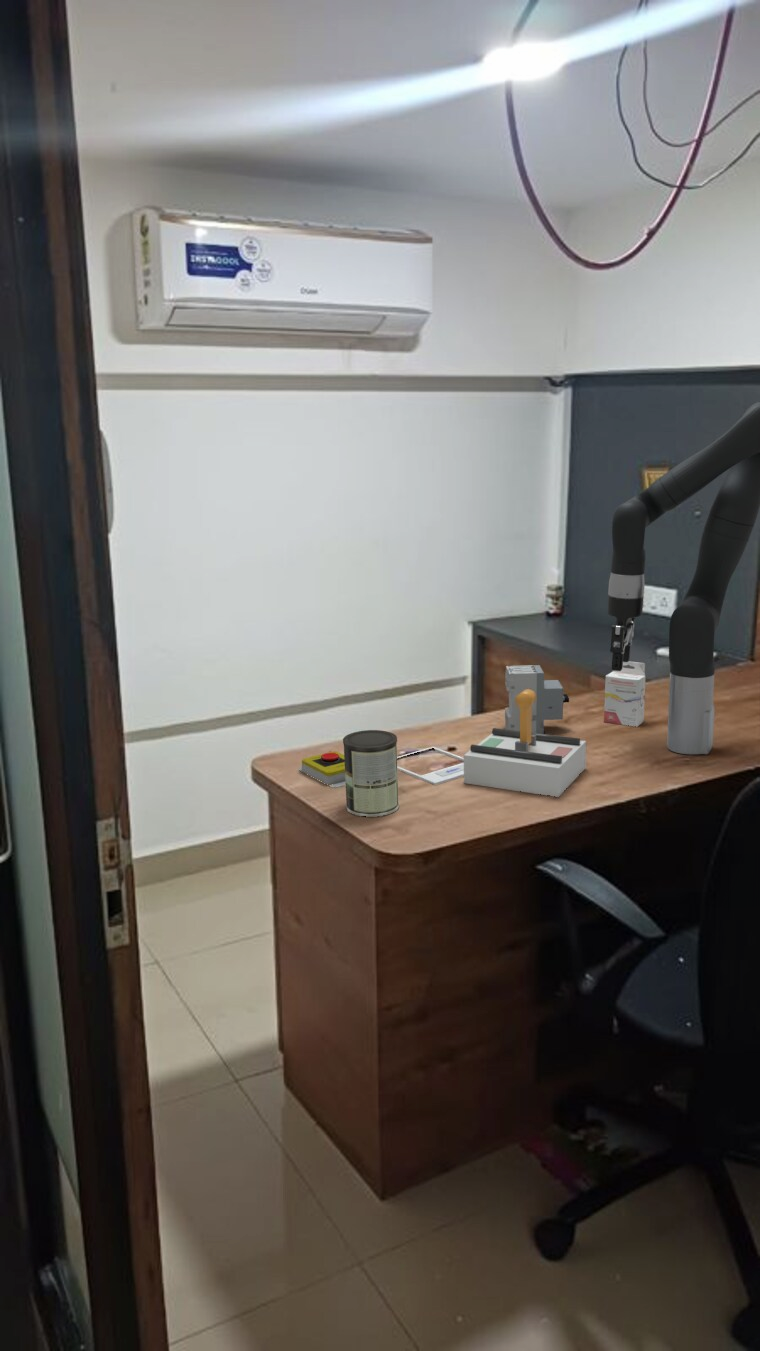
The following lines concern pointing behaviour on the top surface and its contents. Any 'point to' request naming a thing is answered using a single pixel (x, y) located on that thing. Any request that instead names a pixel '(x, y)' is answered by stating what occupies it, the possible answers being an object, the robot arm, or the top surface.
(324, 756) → the emergency button
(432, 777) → the photo frame
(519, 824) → the top surface
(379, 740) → the coffee can
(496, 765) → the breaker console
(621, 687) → the ink cartridge box
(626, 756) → the top surface
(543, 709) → the circuit breaker
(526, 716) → the lever
